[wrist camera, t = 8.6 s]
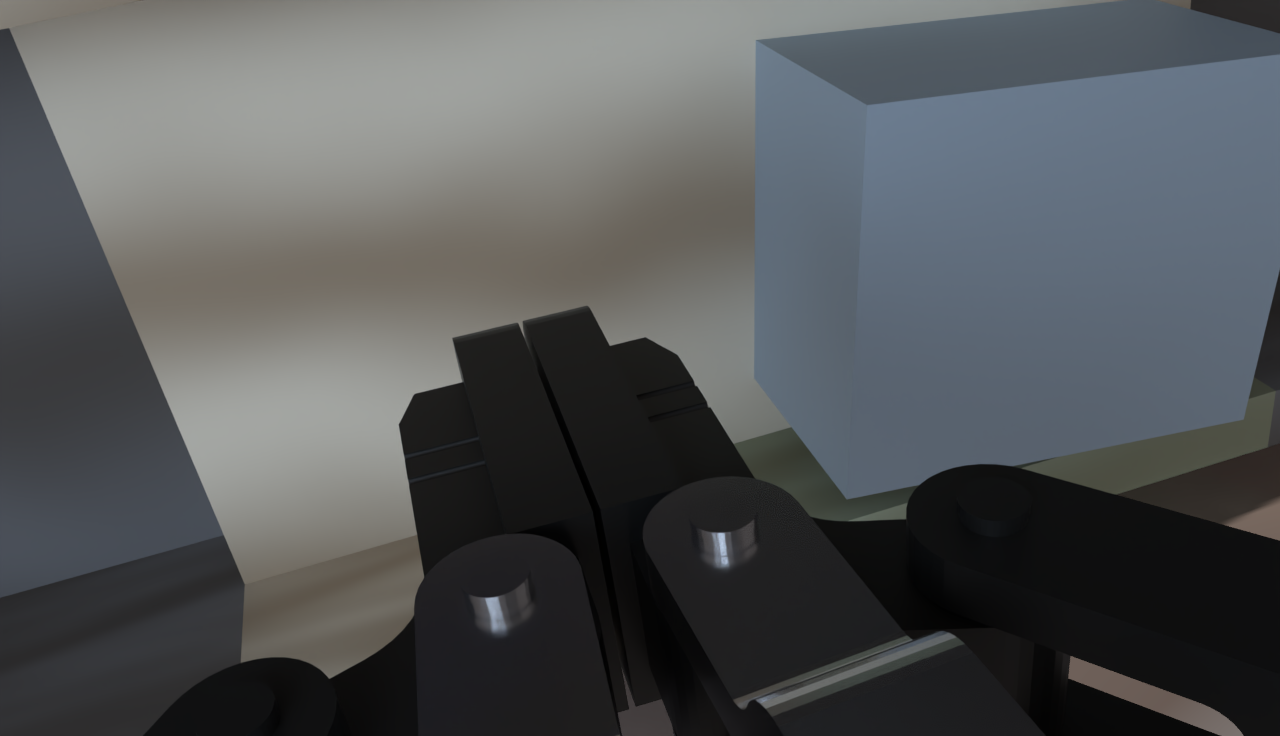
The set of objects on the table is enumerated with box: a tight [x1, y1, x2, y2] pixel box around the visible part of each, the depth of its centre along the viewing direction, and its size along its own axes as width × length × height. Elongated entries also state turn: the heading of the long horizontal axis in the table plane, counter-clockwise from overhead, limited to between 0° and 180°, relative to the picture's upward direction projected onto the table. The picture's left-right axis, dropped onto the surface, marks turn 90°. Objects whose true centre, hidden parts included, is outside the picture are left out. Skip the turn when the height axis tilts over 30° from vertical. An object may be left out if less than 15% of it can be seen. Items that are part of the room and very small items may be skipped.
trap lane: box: [0, 0, 1280, 736], centre depth 18 cm, size 12×35×5 cm, turn 99°
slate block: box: [754, 0, 1280, 499], centre depth 18 cm, size 6×7×4 cm
